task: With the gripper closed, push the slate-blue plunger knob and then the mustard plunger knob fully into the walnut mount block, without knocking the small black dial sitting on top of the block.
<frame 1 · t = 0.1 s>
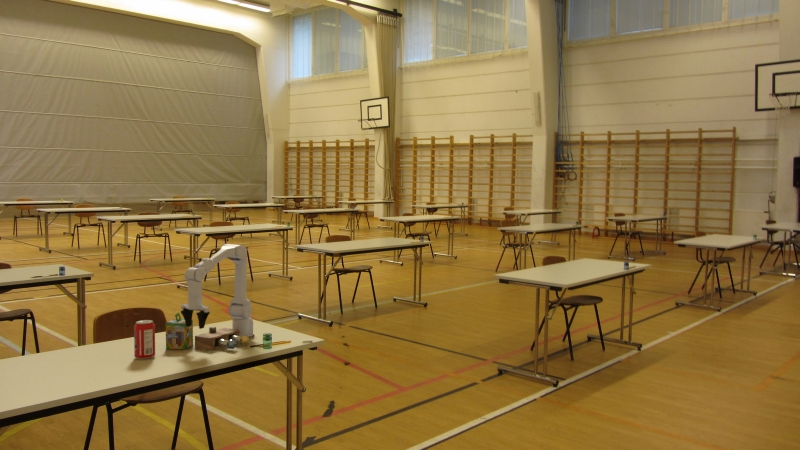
hand: (195, 327, 260), 10 cm above the table, tool pointing down, fingers open, 7 cm apart
soda can: (144, 358, 249), on the table
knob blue: (223, 342, 263), point 3 cm above the table, slide at 0.0 cm
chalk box: (179, 347, 266), on the table
mount: (225, 346, 268), on the table
dial: (212, 332, 271), point 5 cm above the table, touching mount
knob mustard: (236, 339, 270), point 3 cm above the table, slide at 0.0 cm
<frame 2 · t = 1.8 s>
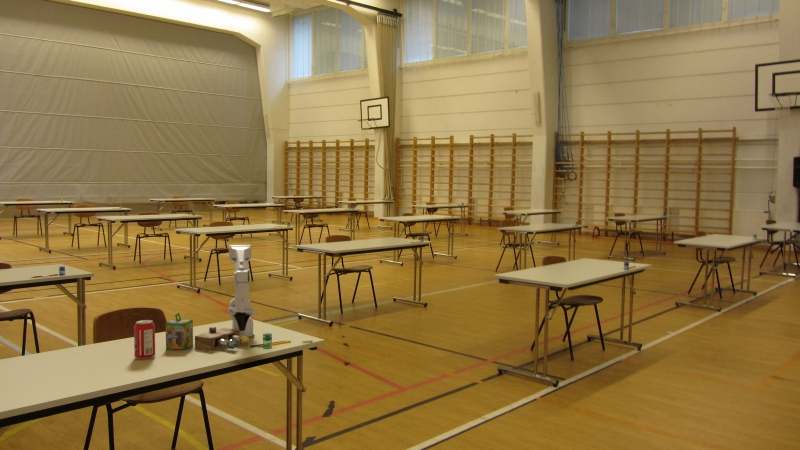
hand: (242, 330, 258), 9 cm above the table, tool pointing down, fingers closed
nothing on the table moved.
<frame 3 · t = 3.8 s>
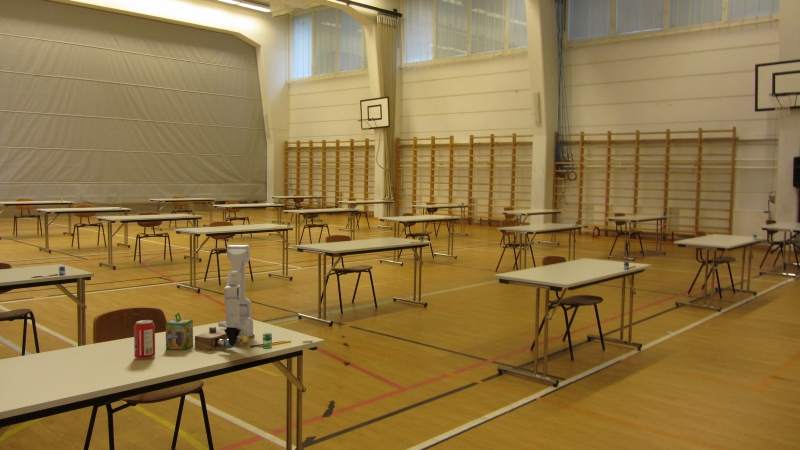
hand: (232, 345, 261), 2 cm above the table, tool pointing down, fingers closed
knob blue: (220, 342, 264), point 3 cm above the table, slide at 1.7 cm, touching gripper
everything else where it was.
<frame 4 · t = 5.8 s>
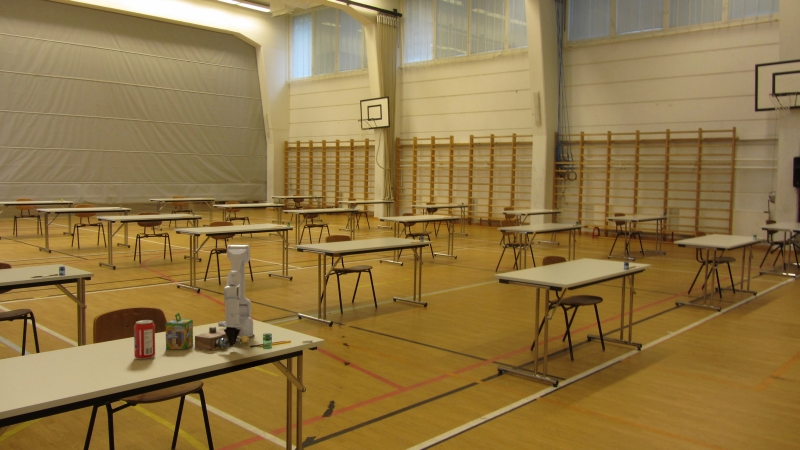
hand: (232, 344, 261), 2 cm above the table, tool pointing down, fingers closed
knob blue: (215, 341, 266), point 3 cm above the table, slide at 5.1 cm
everything else where it was.
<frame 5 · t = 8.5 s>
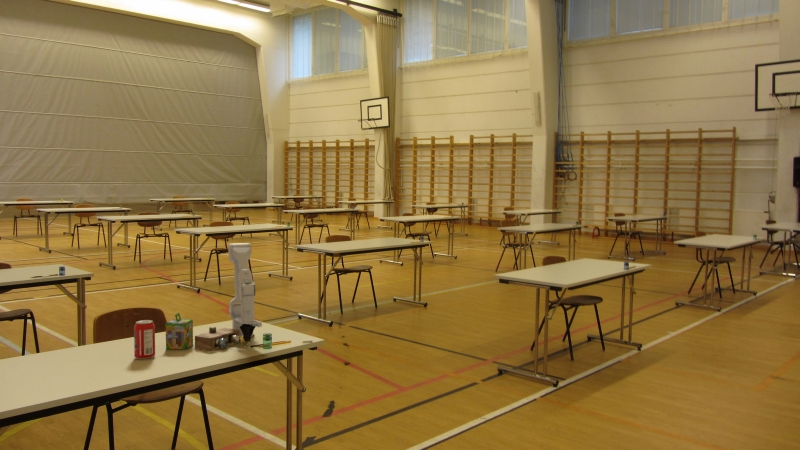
hand: (247, 341, 267), 2 cm above the table, tool pointing down, fingers closed
knob mustard: (236, 338, 270), point 3 cm above the table, slide at 0.5 cm, touching gripper
everything else where it was.
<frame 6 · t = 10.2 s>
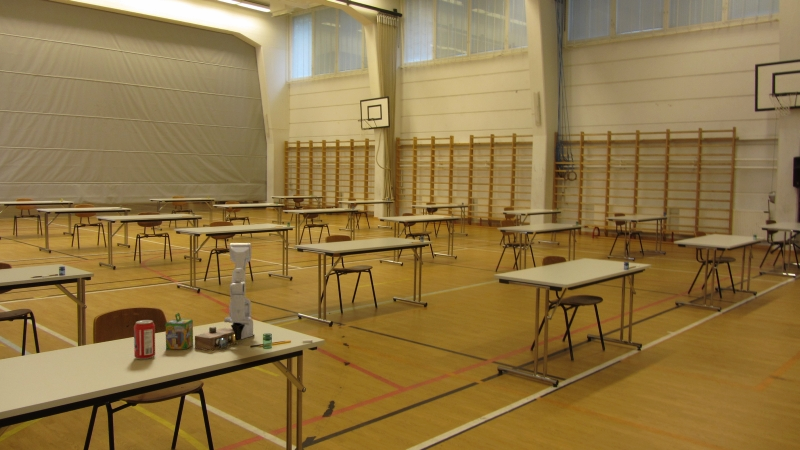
hand: (238, 339, 270), 2 cm above the table, tool pointing down, fingers closed, pressing on knob mustard
knob mustard: (227, 337, 273), point 3 cm above the table, slide at 5.4 cm, touching gripper
everything else where it was.
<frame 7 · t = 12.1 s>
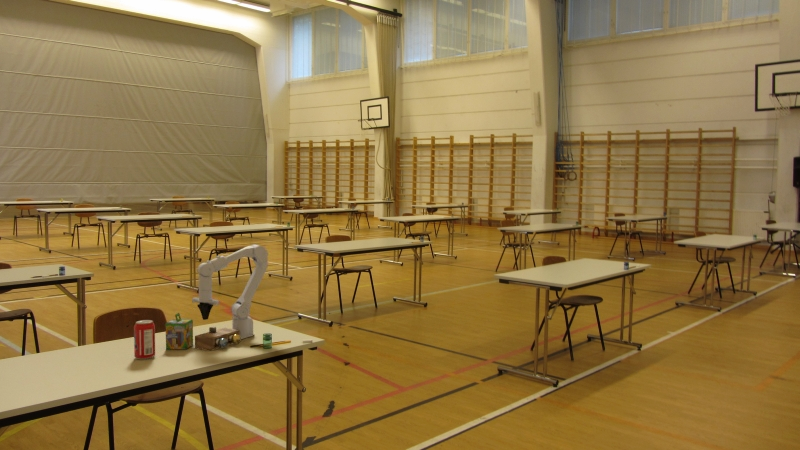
hand: (205, 319, 276), 10 cm above the table, tool pointing down, fingers closed
knob mustard: (228, 337, 273), point 3 cm above the table, slide at 5.1 cm
everything else where it was.
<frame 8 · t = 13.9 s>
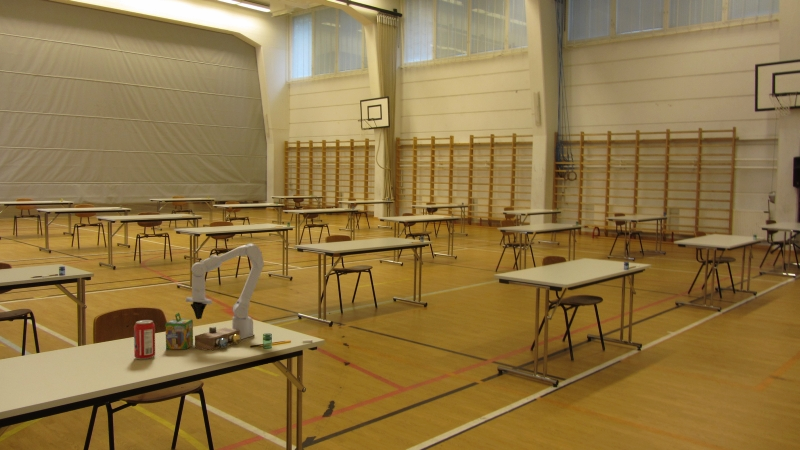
hand: (198, 318, 278), 10 cm above the table, tool pointing down, fingers closed
nothing on the table moved.
at the end: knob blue slide at 5.1 cm; knob mustard slide at 5.1 cm; dial moved 0.0 cm from its start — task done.
